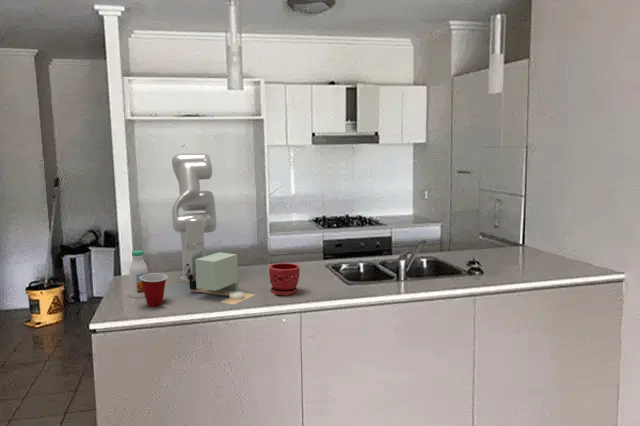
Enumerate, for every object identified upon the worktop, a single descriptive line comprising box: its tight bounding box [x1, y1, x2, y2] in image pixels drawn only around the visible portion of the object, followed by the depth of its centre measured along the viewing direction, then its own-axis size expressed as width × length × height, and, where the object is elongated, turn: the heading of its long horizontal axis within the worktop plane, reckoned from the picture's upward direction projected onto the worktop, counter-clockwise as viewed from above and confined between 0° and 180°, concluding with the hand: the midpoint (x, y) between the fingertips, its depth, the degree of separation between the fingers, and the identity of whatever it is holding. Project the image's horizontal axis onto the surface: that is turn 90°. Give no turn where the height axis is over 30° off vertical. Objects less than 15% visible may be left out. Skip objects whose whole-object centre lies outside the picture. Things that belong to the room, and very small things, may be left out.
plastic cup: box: [140, 272, 168, 308], centre depth 218 cm, size 11×11×12 cm
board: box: [164, 282, 229, 303], centre depth 233 cm, size 15×36×1 cm, turn 61°
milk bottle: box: [128, 249, 149, 298], centre depth 229 cm, size 8×8×20 cm
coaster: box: [229, 290, 245, 300], centre depth 223 cm, size 6×6×2 cm
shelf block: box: [195, 252, 240, 292], centre depth 227 cm, size 15×10×18 cm, turn 151°
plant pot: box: [268, 262, 301, 296], centre depth 233 cm, size 13×13×12 cm
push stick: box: [188, 274, 232, 296], centre depth 229 cm, size 4×20×7 cm, turn 61°
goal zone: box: [220, 292, 255, 306], centre depth 223 cm, size 15×7×1 cm, turn 151°
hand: (197, 287), depth 233 cm, fingers closed on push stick, 4 cm apart
